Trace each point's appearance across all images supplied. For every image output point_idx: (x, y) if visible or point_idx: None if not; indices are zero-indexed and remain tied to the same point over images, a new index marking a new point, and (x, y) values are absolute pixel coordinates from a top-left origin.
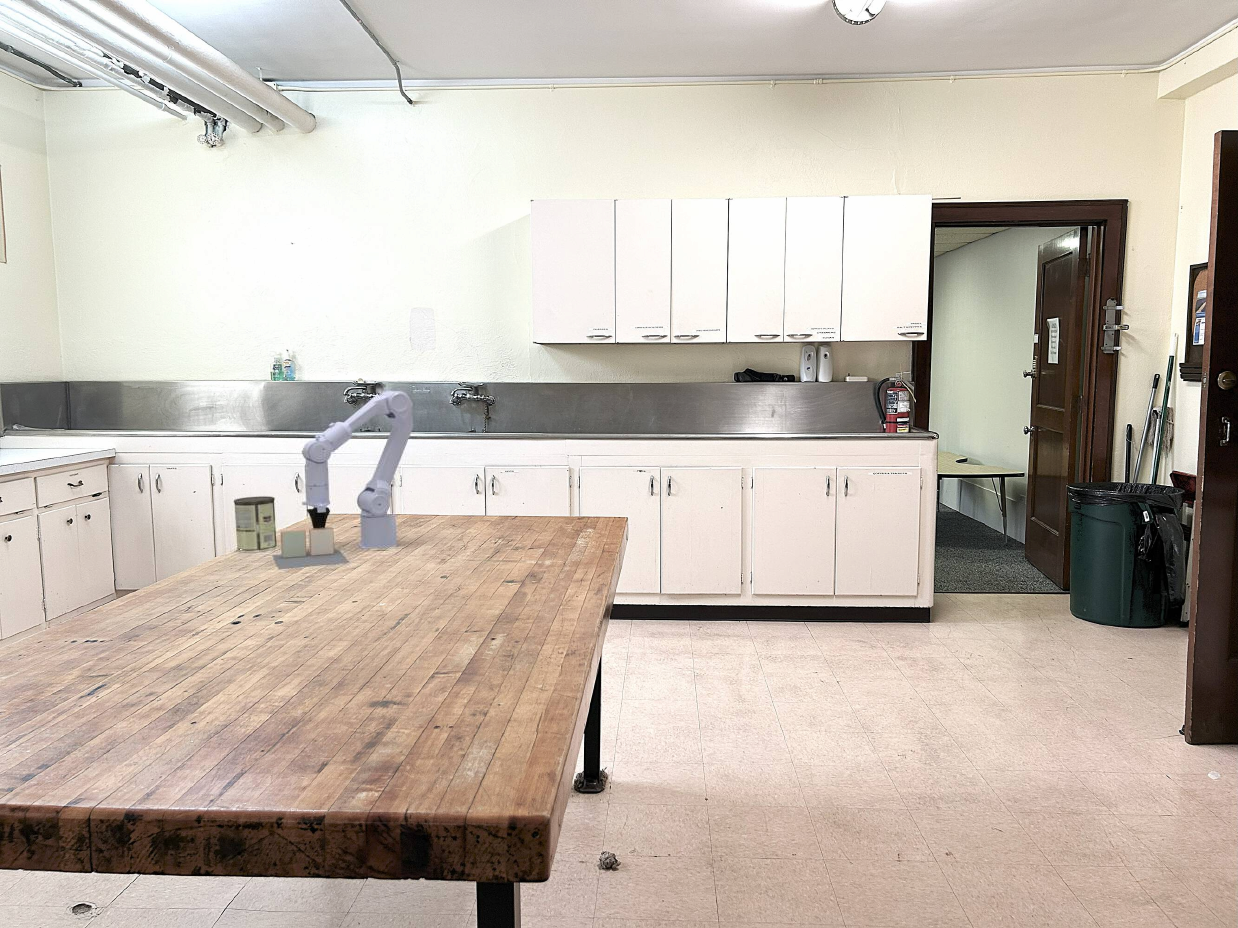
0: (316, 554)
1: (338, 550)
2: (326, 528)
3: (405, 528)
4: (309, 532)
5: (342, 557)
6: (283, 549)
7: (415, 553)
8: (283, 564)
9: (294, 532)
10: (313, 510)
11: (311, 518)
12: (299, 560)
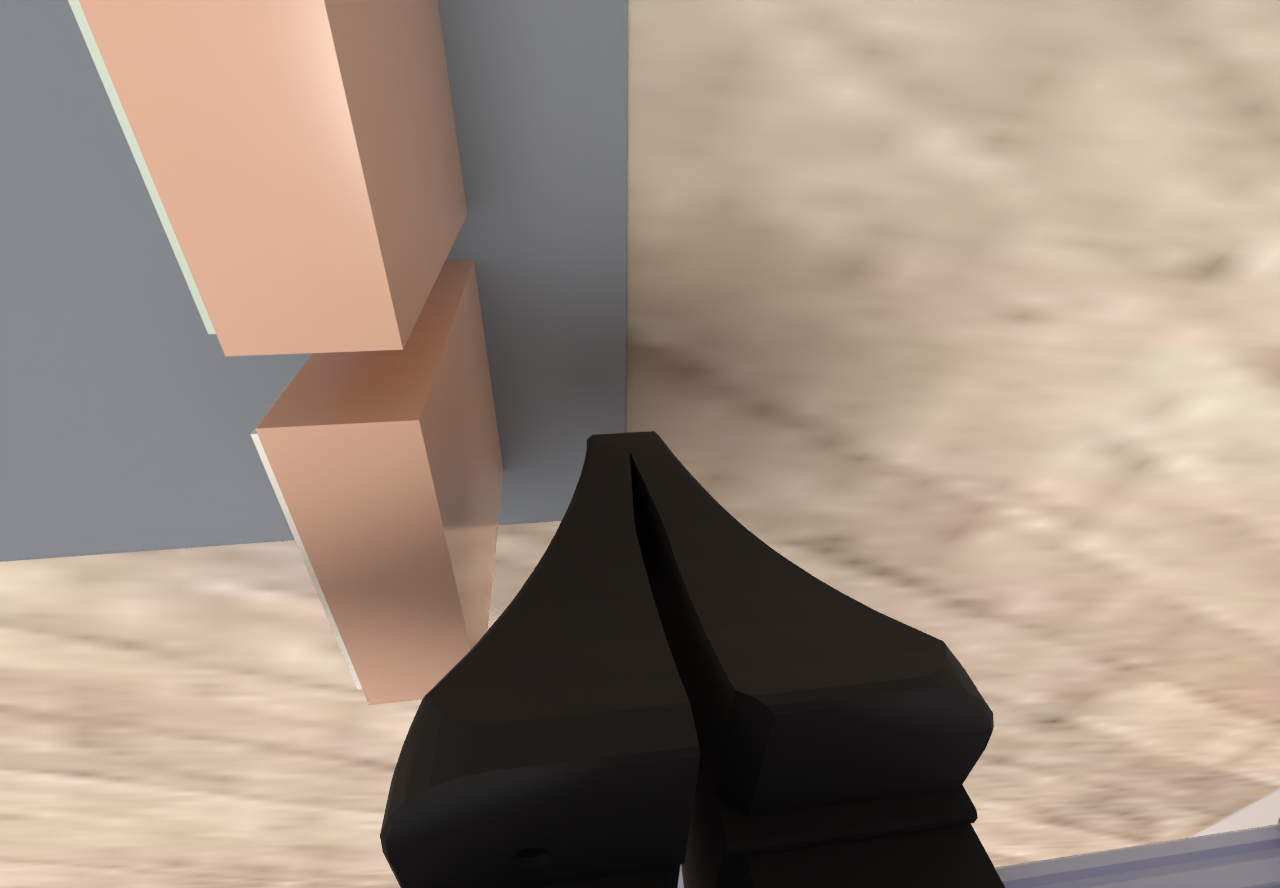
0: None
1: None
2: (359, 643)
3: (1060, 784)
4: (312, 397)
5: (244, 524)
6: None
7: (367, 825)
8: None
9: (106, 74)
10: (473, 863)
11: (529, 606)
12: (98, 91)
